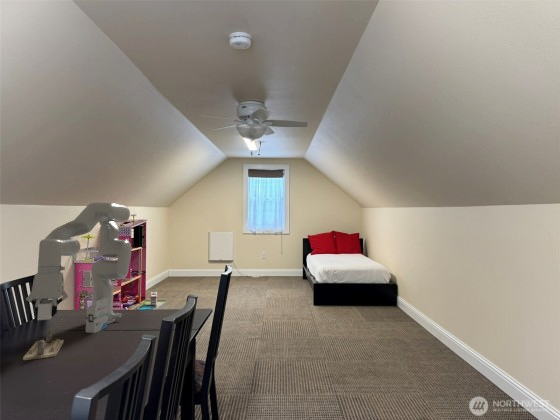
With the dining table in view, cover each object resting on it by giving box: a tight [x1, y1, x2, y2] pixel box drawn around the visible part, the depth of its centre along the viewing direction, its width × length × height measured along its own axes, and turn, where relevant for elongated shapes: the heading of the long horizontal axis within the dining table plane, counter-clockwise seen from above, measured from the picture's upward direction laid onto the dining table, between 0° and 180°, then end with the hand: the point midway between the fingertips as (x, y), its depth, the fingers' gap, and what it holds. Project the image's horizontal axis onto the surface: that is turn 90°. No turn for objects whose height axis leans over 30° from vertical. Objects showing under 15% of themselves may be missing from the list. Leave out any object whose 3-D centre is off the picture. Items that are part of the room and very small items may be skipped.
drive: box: [37, 299, 53, 321], centre depth 130 cm, size 4×8×6 cm, turn 24°
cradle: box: [22, 329, 65, 361], centre depth 130 cm, size 10×16×6 cm, turn 24°
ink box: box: [85, 298, 108, 334], centre depth 156 cm, size 9×5×15 cm, turn 168°
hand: (46, 315), depth 130 cm, fingers closed on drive, 4 cm apart
